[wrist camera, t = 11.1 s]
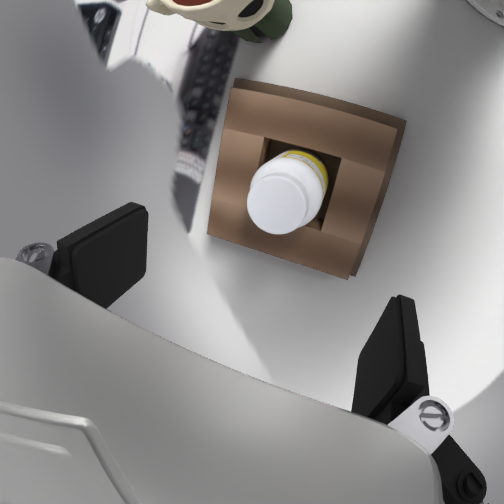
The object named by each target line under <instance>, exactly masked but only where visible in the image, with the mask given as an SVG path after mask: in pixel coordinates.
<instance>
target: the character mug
mask: <svg viewBox="0 0 504 504" xmlns="http://www.w3.org/2000/svg"><path fill="white" fill-rule="evenodd" d="M146 6H147V7H148V8H149V9H150V10H152V11H155V12H158V13H161V14H163V15H172V14H175V13H177V14H179V15H181V16H183V17H184V18H186V19H189V20H193V21H195V22H196V23H198V24H200V25H202V26H205V27H208V28H211V29H216V30H221V31H232V32H233V33H235V34H236V35H238V36H239V37H241V38H242V39H244V40H245V41H251V42H256V43H260V42H262V41H261V40H260V39H259V38H258V37H257V36H265V35H266V36H268V37H269V38H270V39H271V40H272V39H276V38H277V37H278V36H279V35H281V34H282V33H283V32H285V31H286V29H287V28H288V26H289V24H290V22H291V20H292V5H291V3H290V1H289V0H148V1H147V3H146Z"/></svg>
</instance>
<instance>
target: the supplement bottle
mask: <svg viewBox="0 0 504 504" xmlns="http://www.w3.org/2000/svg"><path fill="white" fill-rule="evenodd" d="M328 181H329V175H328V170H327V167H326V165H325V163H324V161H323V160H322V159H321V158H320V157H319V156H318V155H317V154H316V153H314V152H312V151H310V150H307V149H303V148H294V149H290V150H287V151H285V152H283V153H281V154H280V155H278V156H276V157H275V158H273V159H271V160H270V161H268V162H267V163H265V164H264V165H262V166H261V167H260V168H259V169H258V170H257V172H256V173H255V175H254V176H253V178H252V181H251V185H250V191H249V194H248V197H247V209H248V213H249V215H250V217H251V219H252V221H253V222H254V223H255V224H256V225H257V226H258V227H259V228H260V229H262V230H264V231H266V232H268V233H271V234H286V233H290V232H292V231H294V230H295V229H296V228H299V227H302V226H304V225H306V224H307V223H309V222H310V221H311V220H312V219H313V218H314V217H315V216H316V214H317V213H318V211H319V209H320V207H321V204H322V201H323V198H324V196H325V193H326V190H327V187H328Z"/></svg>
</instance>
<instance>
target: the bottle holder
mask: <svg viewBox="0 0 504 504" xmlns="http://www.w3.org/2000/svg"><path fill="white" fill-rule="evenodd" d="M405 125H406V121H405V120H402V119H400V118H397V117H394V116H391V115H388V114H385V113H382V112H379V111H376V110H373V109H370V108H366V107H363V106H360V105H357V104H353V103H350V102H346V101H343V100H339V99H335V98H331V97H328V96H324V95H320V94H316V93H311V92H307V91H303V90H298V89H294V88H289V87H284V86H279V85H274V84H269V83H263V82H257V81H251V80H245V79H238V78H235V81H234V86H233V88H231V90H230V95H229V100H228V106H227V111H226V117H225V122H224V128H223V134H222V140H221V145H220V151H219V157H218V164H217V170H216V176H215V182H214V189H213V195H212V202H211V209H210V216H209V223H208V230H207V234H209V235H212V236H215V237H218V238H221V239H224V240H227V241H230V242H234V243H237V244H240V245H243V246H246V247H249V248H252V249H255V250H258V251H261V252H264V253H267V254H270V255H273V256H276V257H279V258H282V259H286V260H289V261H292V262H295V263H298V264H301V265H304V266H307V267H310V268H313V269H316V270H319V271H322V272H325V273H328V274H331V275H334V276H337V277H340V278H343V279H346V280H348V278H349V275H351V276H354V277H355V276H356V274H357V271H358V269H359V266H360V263H361V261H362V258H363V256H364V253H365V250H366V248H367V245H368V242H369V240H370V237H371V234H372V231H373V228H374V226H375V223H376V220H377V217H378V214H379V211H380V208H381V205H382V202H383V199H384V196H385V193H386V190H387V187H388V184H389V181H390V178H391V174H392V171H393V168H394V164H395V161H396V158H397V154H398V151H399V147H400V144H401V140H402V136H403V133H404V129H405ZM294 148H303V149H307V150H310V151H312V152H314V153H316V154H317V155H318V156H319V157H320V158H321V159H322V160H323V161H324V163H325V165H326V167H327V170H328V175H329V181H328V187H327V190H326V193H325V196H324V198H323V201H322V204H321V207H320V209H319V211H318V213H317V214H316V216H315V217H314V218H313V219H312V220H311V221H310V222H309V223H307V224H306V225H304V226H302V227H299V228H296V229H295V230H294V231H292V232H290V233H286V234H271V233H268V232H266V231H264V230H262V229H260V228H259V227H258V226H257V225H256V224H255V223H254V222H253V221H252V219H251V217H250V215H249V213H248V209H247V197H248V194H249V191H250V185H251V181H252V178H253V176H254V175H255V173H256V172H257V170H258V169H259V168H260V167H261V166H262V165H264V164H265V163H267V162H268V161H270V160H271V159H273V158H275V157H276V156H278V155H280V154H281V153H283V152H285V151H287V150H290V149H294Z"/></svg>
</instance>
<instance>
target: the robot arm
mask: <svg viewBox="0 0 504 504" xmlns="http://www.w3.org/2000/svg"><path fill="white" fill-rule="evenodd" d="M467 1H468V2H469V3H470V4H471V5H472V6H473V7H475V8H476V9H477V10H478V11H479V12H481V13H482V14H483V15H485V16H486V17H487V18H489V19H491V20H492V21H494V22H496V23H497V24H499V25H502V26H504V0H467ZM147 231H148V212H147V211H146V208H145V207H144V206H142V205H139V204H136V203H133V202H130V203H128V204H126V205H124V206H122V207H120V208H118V209H116V210H114V211H112V212H110V213H108V214H106V215H105V216H102V217H100V218H98V219H97V220H95V221H93V222H91V223H89V224H87V225H85V226H83V227H82V228H80V229H78V230H76V231H74V232H73V233H71V234H69V235H67V236H65V237H64V238H62V239H60V240H58V241H57V248H58V250H57V251H55V252H54V249H53V247H52V246H51V245H49V244H47V243H32V244H29V245H27V246H25V247H23V248H22V249H21V250H20V251H19V253H18V254H17V257H16V259H15V260H13V259H7V258H0V504H484V502H483V499H484V497H485V495H486V489H487V487H486V481H485V478H484V476H483V474H482V473H481V471H480V470H479V469H478V468H477V467H476V465H475V464H474V463H473V462H472V461H471V459H470V458H469V457H468V456H467V455H466V454H465V453H464V451H463V450H462V449H461V448H460V447H459V445H458V444H457V443H456V442H455V441H454V439H453V438H452V437H451V436H450V435H449V434H450V432H451V431H452V429H453V427H454V417H453V414H452V412H451V410H450V408H449V407H448V406H447V404H446V403H444V402H443V401H442V400H441V399H439V398H436V397H433V396H430V395H429V384H428V374H427V365H426V357H425V349H424V344H423V342H422V341H421V340H420V333H419V327H418V320H417V314H416V308H415V302H414V300H413V299H411V298H408V297H405V296H402V295H400V294H399V295H398V296H397V297H391V299H390V300H389V302H388V304H387V306H386V308H385V310H384V312H383V314H382V316H381V317H380V319H379V321H378V323H377V325H376V326H375V328H374V330H373V332H372V334H371V335H370V337H369V339H368V341H367V342H366V344H365V346H364V347H363V349H362V351H361V353H360V355H359V359H358V366H357V374H356V382H355V390H354V397H353V404H352V410H351V412H350V411H347V410H344V409H341V408H338V407H335V406H333V405H330V404H327V403H323V402H320V401H317V400H314V399H311V398H308V397H305V396H303V395H300V394H297V393H294V392H291V391H288V390H286V389H283V388H280V387H277V386H275V385H272V384H269V383H267V382H264V381H261V380H259V379H256V378H254V377H251V376H248V375H246V374H243V373H241V372H239V371H236V370H234V369H231V368H229V367H227V366H224V365H222V364H219V363H217V362H215V361H212V360H210V359H208V358H205V357H203V356H201V355H199V354H196V353H194V352H192V351H190V350H187V349H185V348H183V347H181V346H179V345H177V344H175V343H172V342H170V341H168V340H166V339H164V338H162V337H160V336H158V335H156V334H154V333H152V332H150V331H148V330H146V329H144V328H141V327H140V326H138V325H135V324H134V323H132V322H130V321H128V320H126V319H124V318H122V317H120V316H118V315H116V314H114V313H113V312H111V311H109V310H107V308H108V307H109V306H110V305H111V304H112V303H113V302H115V301H116V300H117V299H118V298H119V297H120V296H122V295H123V294H124V293H125V292H126V291H127V290H129V289H130V288H131V287H132V286H133V285H134V284H136V283H137V282H138V281H139V280H140V279H141V278H143V276H144V275H145V272H146V257H147ZM488 504H489V503H488Z"/></svg>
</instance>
